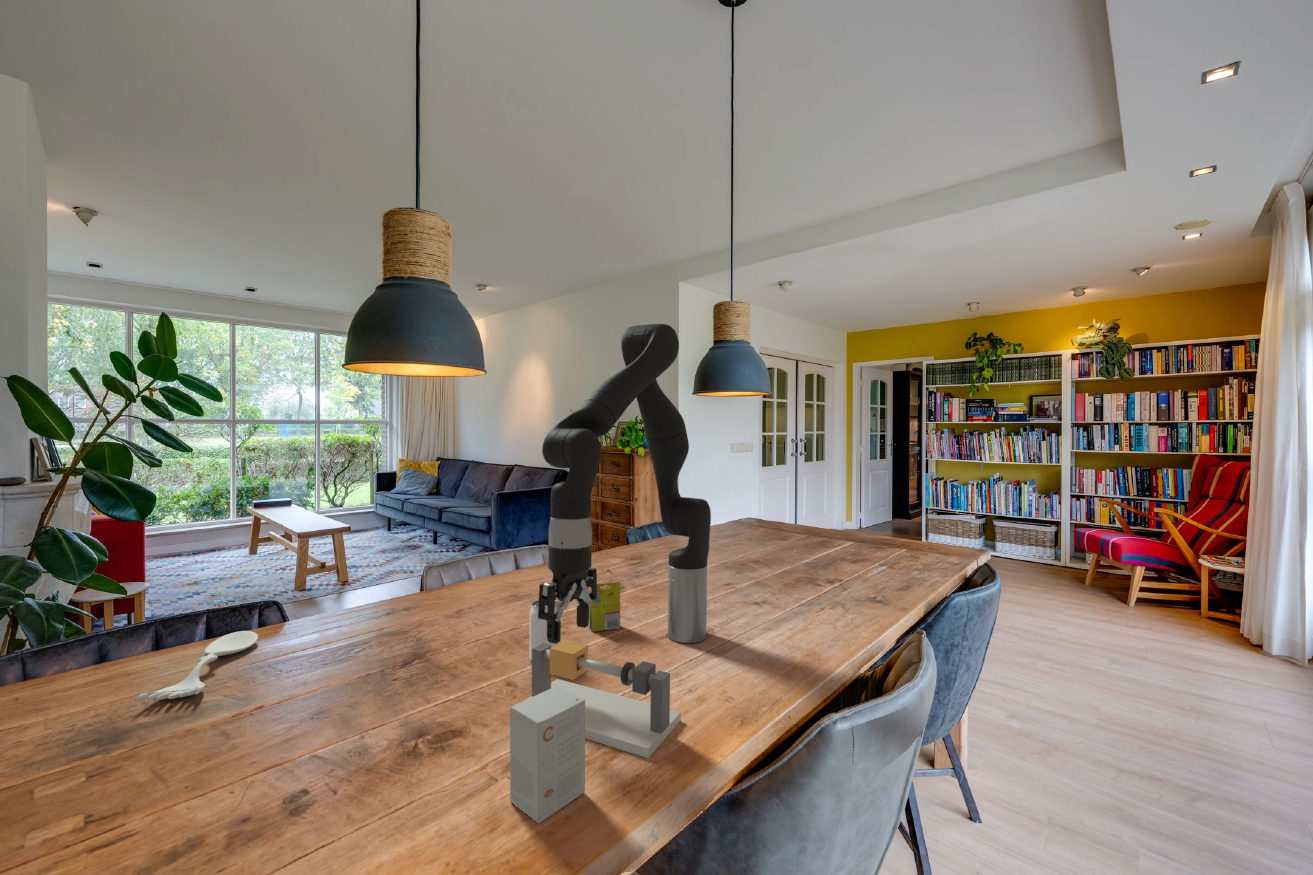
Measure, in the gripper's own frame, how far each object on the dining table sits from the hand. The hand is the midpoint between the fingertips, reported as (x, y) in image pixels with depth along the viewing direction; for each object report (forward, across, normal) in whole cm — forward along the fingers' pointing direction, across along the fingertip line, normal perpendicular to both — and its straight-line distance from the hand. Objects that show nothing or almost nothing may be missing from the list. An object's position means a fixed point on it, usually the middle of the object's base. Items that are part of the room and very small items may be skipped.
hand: (568, 633), depth 96 cm
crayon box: (+13, +36, +15) cm, 42 cm away
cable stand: (+14, 0, -6) cm, 15 cm away
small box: (+14, -20, -11) cm, 27 cm away
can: (+14, +15, +17) cm, 27 cm away
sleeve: (+7, 0, 0) cm, 7 cm away
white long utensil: (+14, -21, +73) cm, 77 cm away
